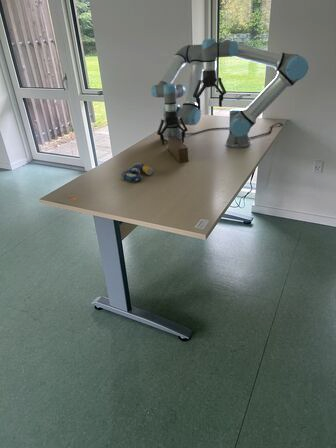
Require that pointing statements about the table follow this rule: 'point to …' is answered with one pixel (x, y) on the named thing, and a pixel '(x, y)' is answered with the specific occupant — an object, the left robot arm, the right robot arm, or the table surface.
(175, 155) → the bar
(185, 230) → the table surface
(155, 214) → the table surface
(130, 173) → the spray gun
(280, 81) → the right robot arm
